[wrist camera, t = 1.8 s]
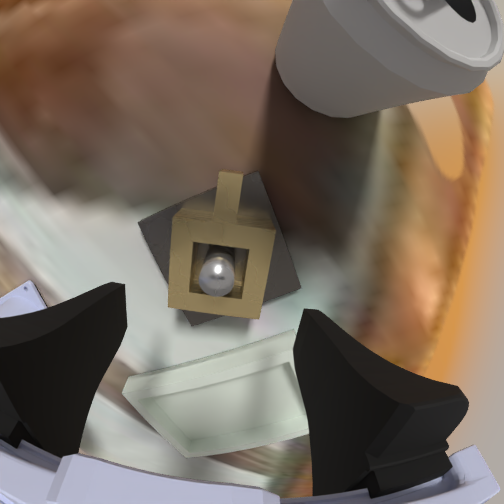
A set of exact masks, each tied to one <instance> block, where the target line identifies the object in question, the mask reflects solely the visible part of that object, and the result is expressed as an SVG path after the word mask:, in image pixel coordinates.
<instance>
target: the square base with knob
mask: <svg viewBox="0 0 504 504" xmlns="http://www.w3.org/2000/svg"><path fill="white" fill-rule="evenodd" d="M216 191H217V187H215V188H212V189H210V190H207V191H205V192H203V193H200V194H198V195H196V196H193V197H191V198H189V199H186V200H184V201H182V202H179V203H177V204H175V205H173V206H170V207H168V208H166V209H164V210H162V211H159V212H157V213H155V214H153V215H151V216H149V217H147V218H144V219H142V220H141V221H139V222H138V224H139V226H140V229H141V231H142V233H143V235H144V237H145V239H146V241H147V243H148V245H149V247H150V249H151V251H152V253H153V255H154V257H155V259H156V261H157V263H158V265H159V267H160V269H161V271H162V273H163V275H164V277H165V279H166V281H167V283H168V284H169V265H170V248H171V233H172V221H173V216H174V215H175V214H176V213H177V212H178V211H179V210H180V209H181V208H185V209H193V210H201V211H209V212H214V207H215V199H216ZM237 215H239V216H246V217H253V218H260V219H267V220H272V223H273V225H274V227H275V229H276V234H275V239H274V245H273V250H272V256H271V261H270V266H269V272H268V277H267V282H266V287H265V292H264V297H263V302H265V301H268V300H270V299H273V298H276V297H279V296H281V295H284V294H287V293H290V292H292V291H295V290H298V289H300V288H301V285H300V282H299V280H298V277H297V274H296V271H295V268H294V265H293V263H292V260H291V257H290V254H289V252H288V249H287V246H286V243H285V241H284V238H283V235H282V232H281V230H280V227H279V224H278V222H277V219H276V216H275V214H274V211H273V208H272V206H271V203H270V200H269V198H268V195H267V193H266V190H265V187H264V185H263V182H262V180H261V177H260V174H259V172H258V171H255V172H252V173H250V174H247V175H245V176H243V180H242V186H241V193H240V200H239V207H238V213H237ZM245 256H246V249H244V248H237V247H229V246H222V245H214V244H207V243H199V242H198V247H197V258H196V269H195V275H197V276H199V285H200V287H201V289H202V290H203V291H204V292H205V293H206V294H208V295H210V296H214V297H220V296H224V295H226V294H228V293H229V292H230V291H231V290H232V288H233V286H234V281H242V275H243V268H244V262H245ZM183 312H184V314H185V315H186V317H187V319H188V321H189V322H190V324H191V326H194V325H198V324H201V323H204V322H207V321H210V320H213V319H216V318H219V317H222V316H225V315H218V314H210V313H203V312H196V311H189V310H183Z"/></svg>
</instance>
